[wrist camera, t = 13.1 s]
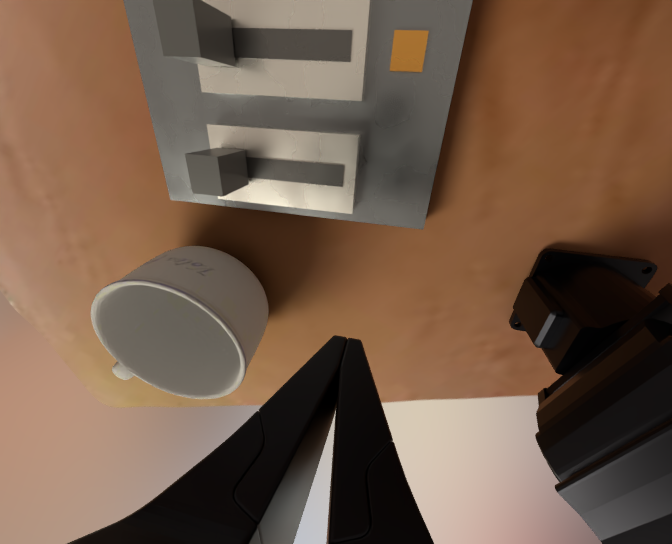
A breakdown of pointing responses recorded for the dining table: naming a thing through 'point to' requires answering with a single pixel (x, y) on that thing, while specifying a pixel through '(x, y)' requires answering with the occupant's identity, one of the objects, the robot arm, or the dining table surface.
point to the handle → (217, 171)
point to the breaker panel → (313, 103)
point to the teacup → (183, 322)
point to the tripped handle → (195, 32)
